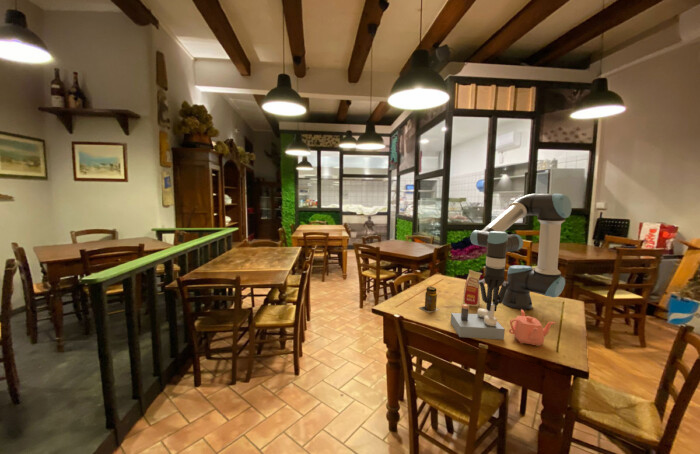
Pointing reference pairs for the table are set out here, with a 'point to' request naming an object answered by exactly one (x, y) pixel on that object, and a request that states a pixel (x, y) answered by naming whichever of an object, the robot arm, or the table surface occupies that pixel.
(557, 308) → the table surface
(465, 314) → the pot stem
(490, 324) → the knob
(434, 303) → the condiment
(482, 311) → the knob
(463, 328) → the mount
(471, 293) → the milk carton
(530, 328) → the teapot
